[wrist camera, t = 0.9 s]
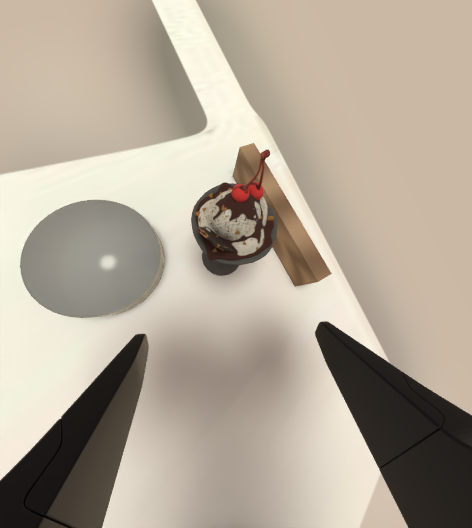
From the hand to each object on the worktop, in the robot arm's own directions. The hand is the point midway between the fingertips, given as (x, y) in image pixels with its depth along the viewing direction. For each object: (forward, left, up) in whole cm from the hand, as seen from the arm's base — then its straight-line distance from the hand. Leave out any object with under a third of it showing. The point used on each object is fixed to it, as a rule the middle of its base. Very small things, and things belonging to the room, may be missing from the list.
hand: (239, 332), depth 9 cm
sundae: (+6, -4, -13) cm, 15 cm away
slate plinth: (+11, +8, -13) cm, 19 cm away
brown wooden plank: (+7, -12, -13) cm, 19 cm away
